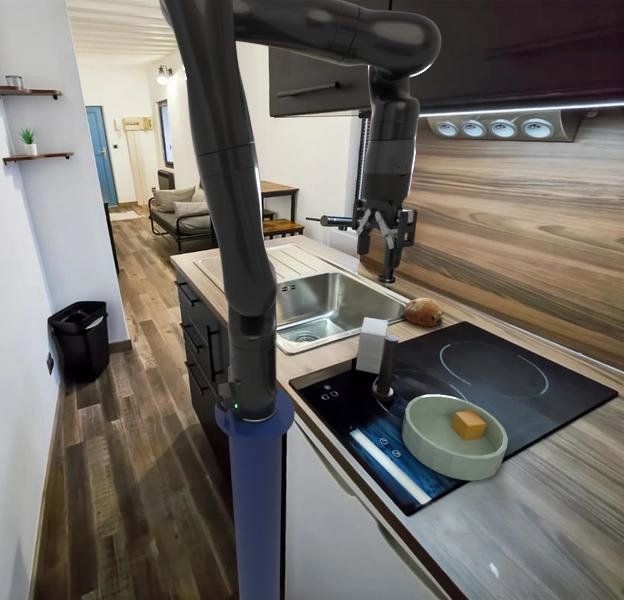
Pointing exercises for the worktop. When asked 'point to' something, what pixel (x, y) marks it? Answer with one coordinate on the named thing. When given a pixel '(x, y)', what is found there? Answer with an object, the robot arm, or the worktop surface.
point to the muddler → (386, 369)
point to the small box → (371, 344)
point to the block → (468, 425)
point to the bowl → (452, 438)
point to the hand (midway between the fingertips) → (376, 260)
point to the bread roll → (423, 312)
